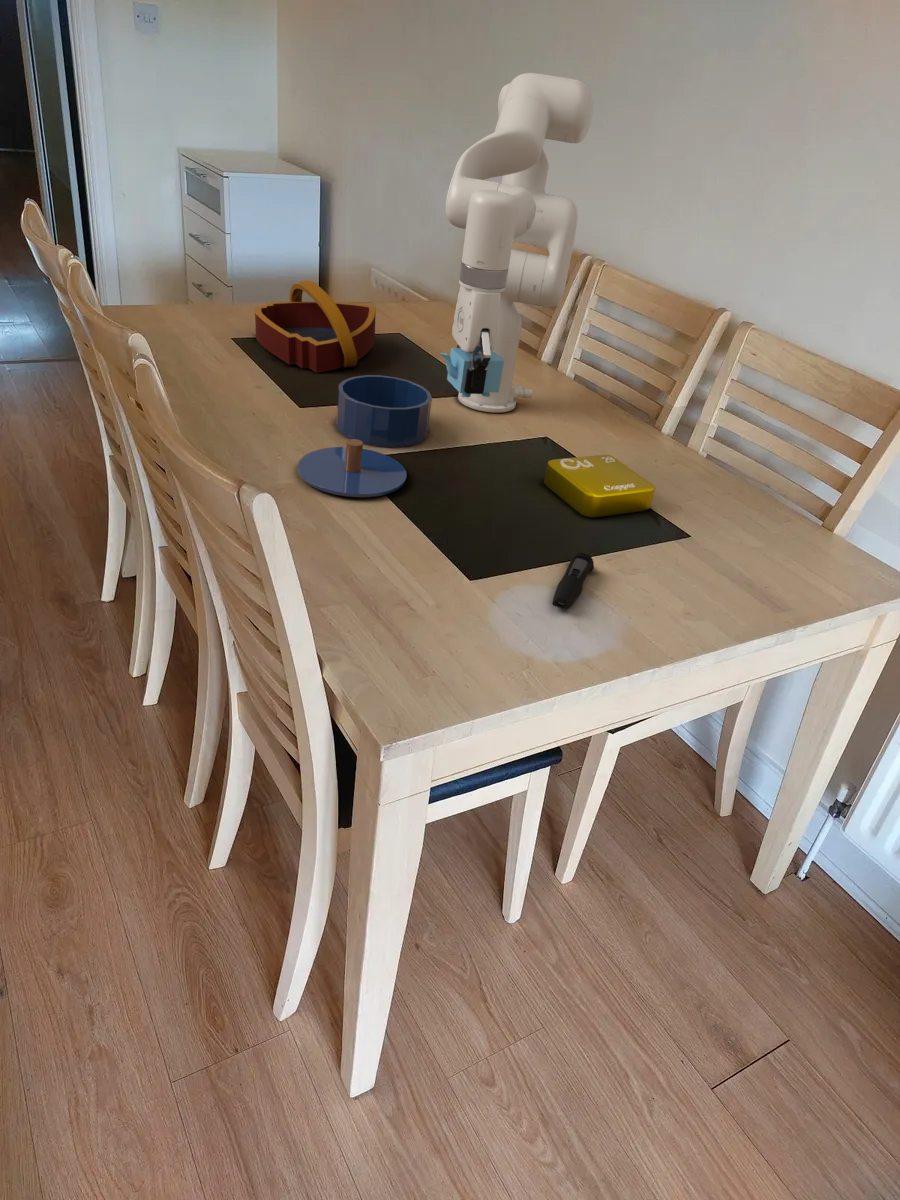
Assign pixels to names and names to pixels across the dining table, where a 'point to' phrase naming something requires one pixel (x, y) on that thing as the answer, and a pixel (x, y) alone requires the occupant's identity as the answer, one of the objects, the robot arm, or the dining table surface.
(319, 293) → the decorative basket
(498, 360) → the teapot
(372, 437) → the pot
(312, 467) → the lid
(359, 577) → the dining table surface
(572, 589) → the electric trimmer
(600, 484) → the element tile
